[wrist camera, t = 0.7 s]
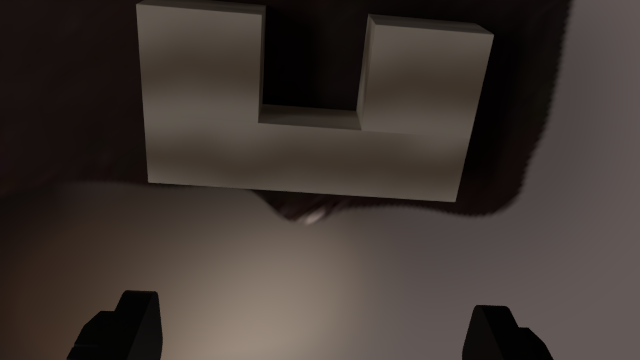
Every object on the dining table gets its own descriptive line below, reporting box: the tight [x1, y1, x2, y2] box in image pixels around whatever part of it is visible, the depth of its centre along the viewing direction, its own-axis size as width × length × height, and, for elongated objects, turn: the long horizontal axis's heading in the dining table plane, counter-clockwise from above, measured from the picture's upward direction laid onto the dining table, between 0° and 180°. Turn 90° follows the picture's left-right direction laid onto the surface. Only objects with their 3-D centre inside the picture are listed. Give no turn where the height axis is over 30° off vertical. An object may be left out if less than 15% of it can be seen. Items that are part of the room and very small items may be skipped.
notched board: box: [136, 0, 494, 202], centre depth 36 cm, size 12×22×4 cm, turn 85°
